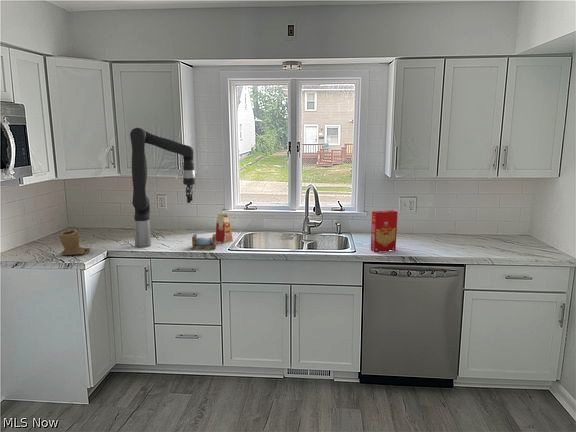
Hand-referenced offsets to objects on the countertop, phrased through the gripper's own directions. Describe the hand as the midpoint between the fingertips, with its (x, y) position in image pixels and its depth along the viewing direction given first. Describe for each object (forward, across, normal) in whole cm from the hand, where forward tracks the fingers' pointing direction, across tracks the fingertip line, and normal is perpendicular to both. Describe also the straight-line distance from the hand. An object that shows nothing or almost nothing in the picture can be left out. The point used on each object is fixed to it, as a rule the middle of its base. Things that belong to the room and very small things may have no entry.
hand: (189, 201), depth 288 cm
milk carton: (+28, -4, +21) cm, 35 cm away
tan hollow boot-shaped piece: (+28, +24, -66) cm, 76 cm away
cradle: (+28, +12, +10) cm, 32 cm away
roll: (+24, +12, +10) cm, 29 cm away
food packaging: (+28, +25, +123) cm, 129 cm away
